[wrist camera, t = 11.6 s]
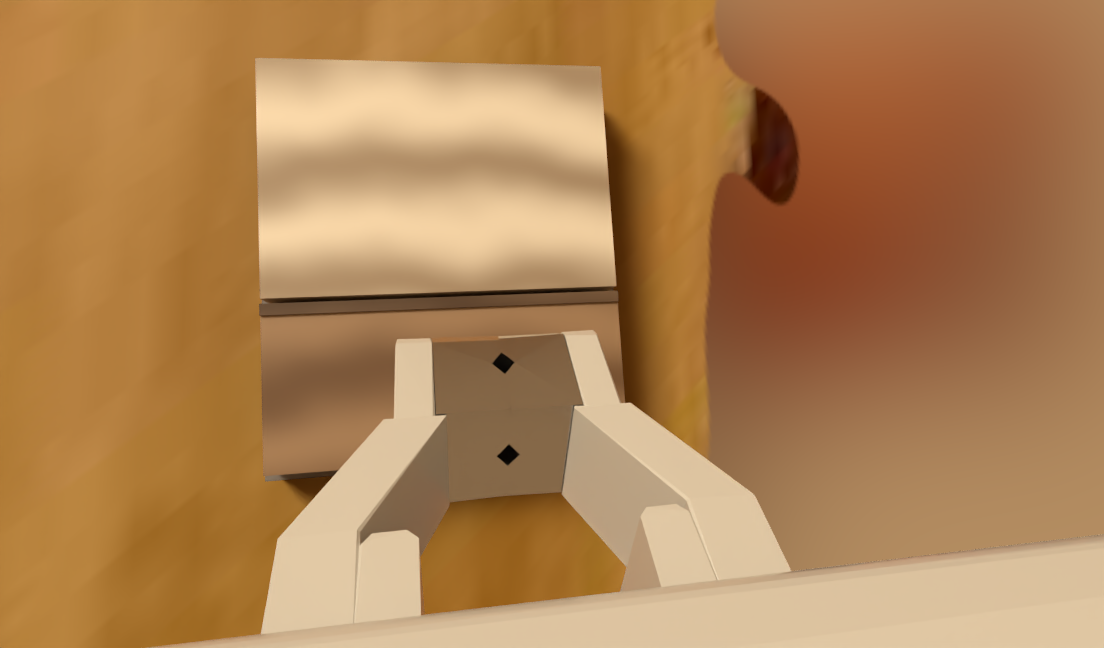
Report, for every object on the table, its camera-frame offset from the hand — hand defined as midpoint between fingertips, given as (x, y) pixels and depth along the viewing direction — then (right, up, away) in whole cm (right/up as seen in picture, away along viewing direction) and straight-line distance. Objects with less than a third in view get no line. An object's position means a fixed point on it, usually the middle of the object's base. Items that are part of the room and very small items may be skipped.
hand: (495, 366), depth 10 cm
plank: (-6, +9, +29) cm, 31 cm away
